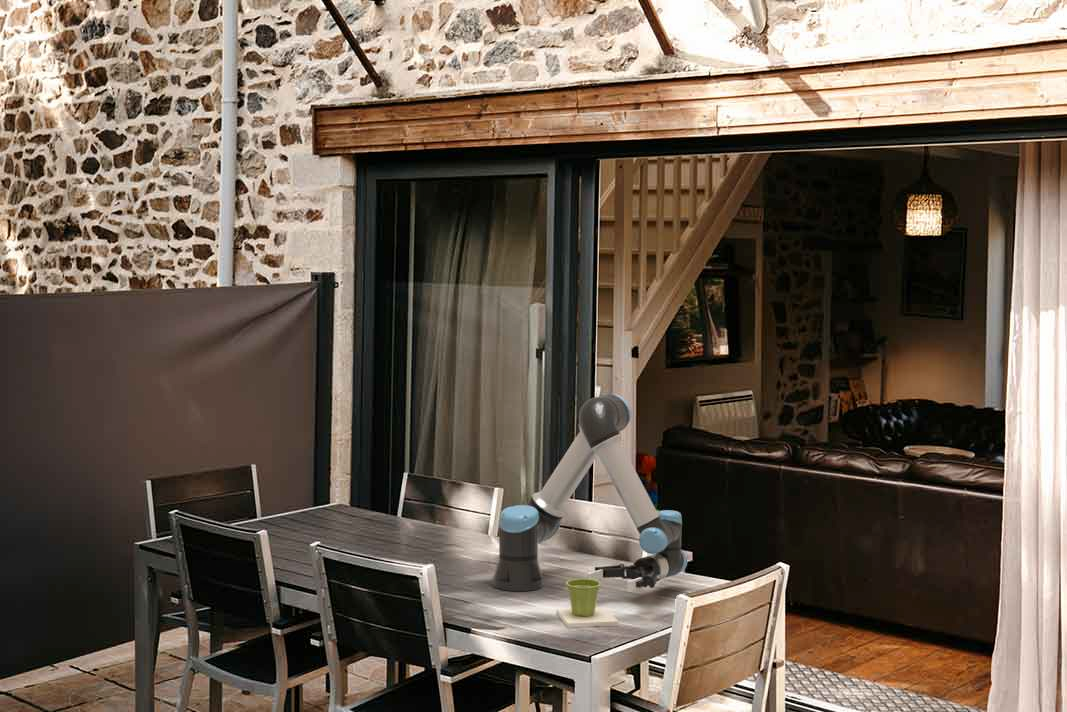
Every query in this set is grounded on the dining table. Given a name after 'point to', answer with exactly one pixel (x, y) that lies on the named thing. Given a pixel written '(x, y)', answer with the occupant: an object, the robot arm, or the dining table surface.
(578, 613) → the plant pot
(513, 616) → the dining table surface
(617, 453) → the robot arm
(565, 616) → the tile
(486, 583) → the dining table surface
